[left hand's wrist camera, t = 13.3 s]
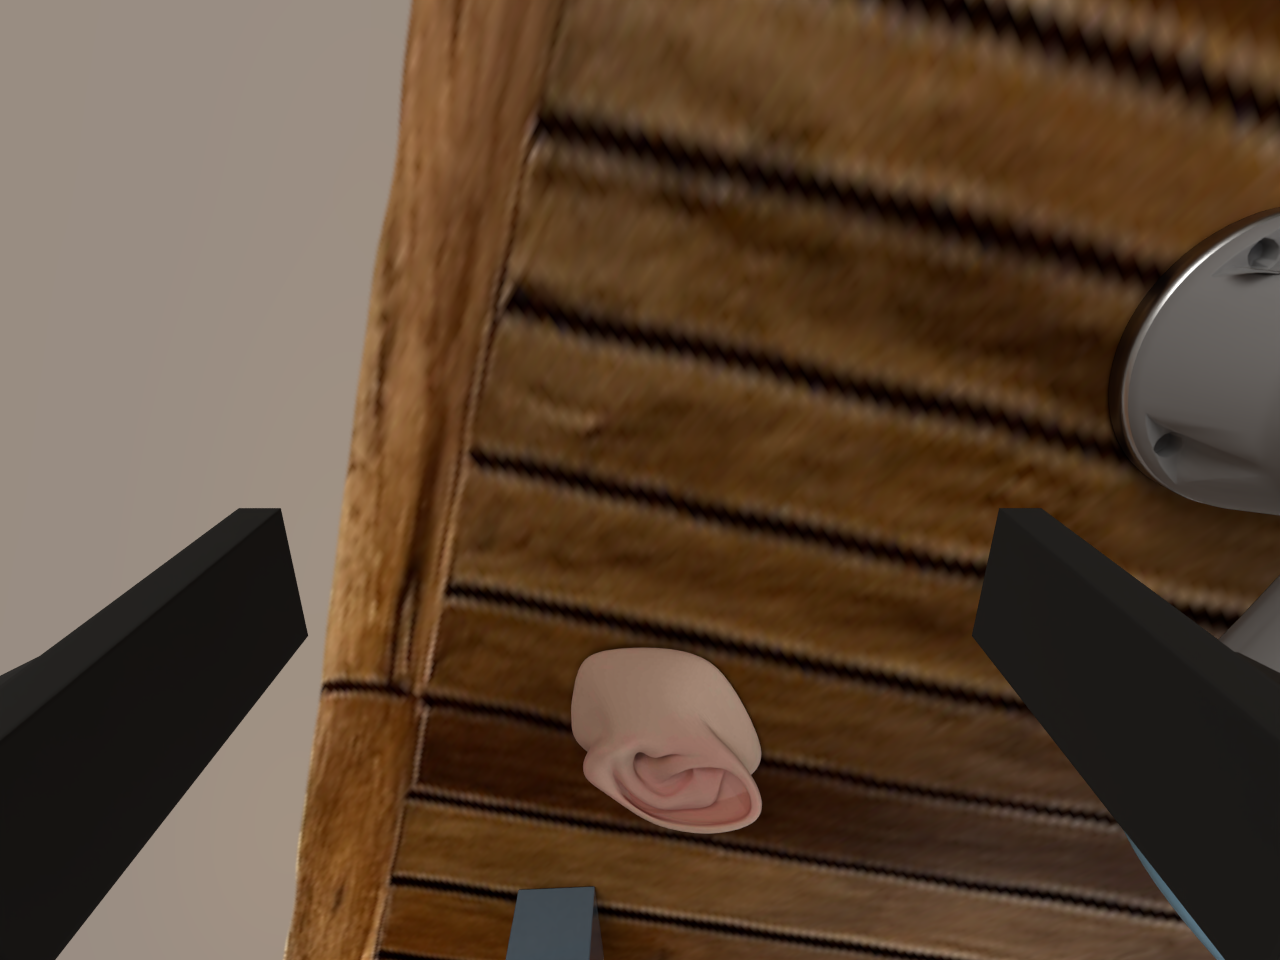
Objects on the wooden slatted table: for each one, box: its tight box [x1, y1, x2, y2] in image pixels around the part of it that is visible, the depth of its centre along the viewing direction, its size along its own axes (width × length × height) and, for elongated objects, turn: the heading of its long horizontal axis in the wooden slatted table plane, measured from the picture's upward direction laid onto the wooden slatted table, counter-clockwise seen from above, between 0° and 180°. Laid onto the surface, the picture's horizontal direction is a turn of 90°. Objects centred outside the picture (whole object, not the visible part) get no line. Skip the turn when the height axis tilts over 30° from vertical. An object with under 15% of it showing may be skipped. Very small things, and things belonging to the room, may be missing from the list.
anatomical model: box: [571, 648, 762, 833], centre depth 42 cm, size 13×4×12 cm
